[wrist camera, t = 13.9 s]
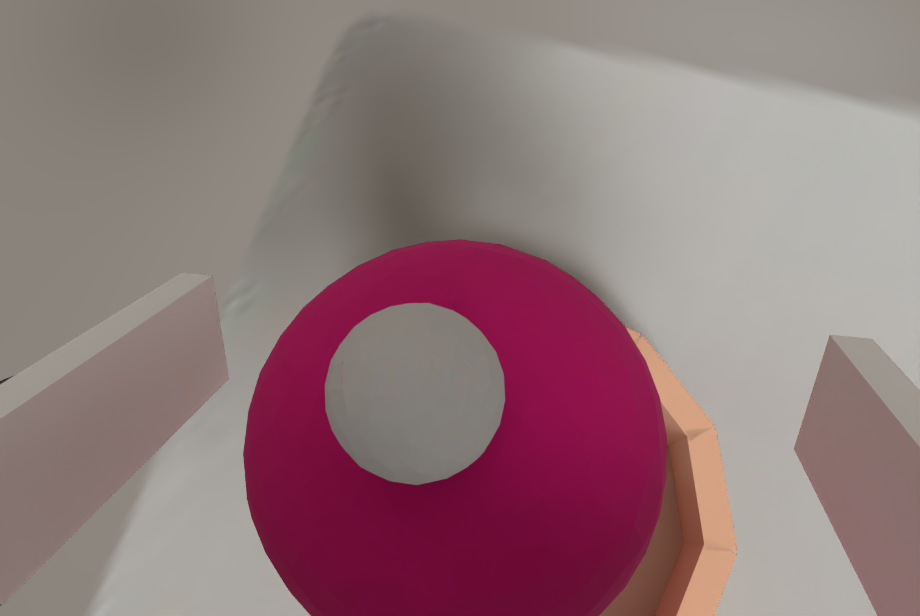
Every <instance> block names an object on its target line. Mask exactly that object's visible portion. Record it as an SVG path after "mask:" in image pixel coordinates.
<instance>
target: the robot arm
mask: <svg viewBox="0 0 920 616" xmlns="http://www.w3.org/2000/svg"><path fill="white" fill-rule="evenodd" d="M228 379H229V377H228V370H227V364H226V358H225V351H224V345H223V339H222V332H221V326H220V320H219V313H218V307H217V301H216V294H215V289H214V282H213V276H212V275H202V274H192V273H180V274H179V275H177V276H176V277H174V278H172V279H170V280H169V281H167V282H166V283H164V284H162V285H161V286H159V287H158V288H156V289H154V290H153V291H151V292H149V293H148V294H146V295H145V296H143V297H141V298H140V299H138V300H136V301H135V302H133V303H132V304H130V305H128V306H127V307H125V308H123V309H122V310H120V311H119V312H117V313H115V314H114V315H112V316H111V317H109V318H107V319H106V320H104V321H102V322H101V323H99V324H98V325H96V326H94V327H93V328H91V329H89V330H88V331H86V332H85V333H83V334H81V335H80V336H78V337H76V338H75V339H73V340H72V341H70V342H68V343H67V344H65V345H64V346H62V347H60V348H59V349H57V350H55V351H54V352H52V353H51V354H49V355H47V356H46V357H44V358H42V359H41V360H39V361H38V362H36V363H35V364H33V365H31V366H29V367H28V368H26V369H25V370H23V371H21V372H20V373H18V374H16V375H14V376H12V377H10V378H7V379H4V380H2V381H0V606H2V605H3V604H4V603H5V602H6V601H7V600H8V599H9V598H10V597H11V596H12V595H13V594H14V593H15V592H16V591H17V590H18V589H19V588H20V587H21V586H22V585H23V584H24V583H25V582H26V581H27V580H28V579H29V578H30V577H31V576H32V575H33V574H34V573H35V572H36V571H37V570H38V569H39V568H40V567H41V566H42V565H43V564H44V563H45V562H46V561H47V560H48V559H49V558H50V557H51V556H52V555H53V554H54V553H55V552H56V551H57V550H58V549H59V548H60V547H61V546H62V545H63V544H64V543H65V542H66V541H67V540H68V539H69V538H70V537H71V536H72V535H73V534H74V533H75V532H76V531H77V530H78V529H79V528H80V527H81V526H82V525H83V524H84V523H85V522H86V521H87V520H88V519H89V518H90V517H91V516H92V515H93V514H94V513H95V512H96V511H97V510H98V509H99V508H100V507H101V506H102V505H103V504H104V503H105V502H106V501H107V500H108V499H109V498H110V497H111V496H112V495H113V494H114V493H115V492H116V491H117V490H118V489H119V488H120V487H121V486H122V485H123V484H124V483H125V482H126V481H127V480H128V479H129V478H130V477H131V476H132V475H133V474H134V473H135V472H136V471H137V470H138V469H139V468H140V467H141V466H142V465H143V464H144V463H145V462H146V461H147V460H148V459H149V458H150V457H151V456H152V455H153V454H154V453H155V452H156V451H157V450H158V449H159V448H160V447H161V446H162V445H163V444H164V443H165V442H166V441H167V440H168V439H169V438H170V437H171V436H172V435H173V434H174V433H175V432H176V431H177V430H178V429H179V428H180V427H181V426H182V425H183V424H184V423H185V422H186V421H187V420H188V419H189V418H190V417H191V416H192V415H193V414H194V413H195V412H196V411H197V410H198V409H199V408H200V407H201V406H202V405H203V404H204V403H205V402H206V401H207V400H208V399H209V398H210V397H211V396H212V395H213V394H214V393H215V392H216V391H217V390H218V389H219V388H220V387H221V386H222V385H223V384H224V383H225V382H226V381H227V380H228ZM794 450H795V452H796V454H797V456H798V458H799V460H800V462H801V464H802V466H803V468H804V470H805V472H806V474H807V476H808V478H809V480H810V482H811V484H812V486H813V488H814V490H815V492H816V494H817V496H818V498H819V500H820V502H821V504H822V506H823V508H824V510H825V512H826V514H827V516H828V518H829V520H830V522H831V524H832V526H833V528H834V530H835V532H836V534H837V536H838V538H839V540H840V542H841V544H842V546H843V548H844V550H845V552H846V554H847V556H848V558H849V560H850V562H851V563H852V565H853V567H854V569H855V571H856V573H857V575H858V577H859V579H860V581H861V583H862V585H863V587H864V589H865V591H866V593H867V595H868V597H869V599H870V601H871V603H872V605H873V607H874V609H875V611H876V613H877V615H878V616H920V390H919V389H918V388H917V387H916V386H915V385H914V383H913V382H912V381H911V380H910V379H909V378H908V377H907V376H906V375H905V374H904V373H903V372H902V370H901V369H900V368H899V367H898V366H897V365H896V364H895V363H894V362H893V361H892V360H891V359H890V358H889V356H888V355H887V354H886V353H885V352H884V351H883V350H882V349H881V348H880V347H879V346H878V345H877V343H876V342H875V341H874V340H873V339H867V338H857V337H847V336H836V335H830V336H829V339H828V342H827V346H826V349H825V352H824V355H823V358H822V361H821V365H820V368H819V371H818V374H817V377H816V380H815V384H814V387H813V390H812V393H811V396H810V400H809V403H808V406H807V409H806V412H805V415H804V419H803V422H802V425H801V428H800V431H799V434H798V438H797V441H796V444H795V447H794Z"/></svg>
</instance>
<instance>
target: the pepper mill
mask: <svg viewBox="0 0 920 616" xmlns="http://www.w3.org/2000/svg"><path fill="white" fill-rule="evenodd" d="M243 456H244V468H245V479H246V491H247V500H248V504H249V509H250V513H251V517H252V520H253V522H254V525H255V527H256V530H257V532H258V535H259V537H260V540H261V542H262V545H263V547H264V550H265V552H266V554H267V556H268V557H269V559H270V561H271V562H272V564H273V565H274V567H275V569H276V570H277V572H278V574H279V575H280V577H281V578H282V580H283V582H284V583H285V585H286V587H287V588H288V589H289V591H290V592H291V594H292V595H293V596H294V597H295V598H296V599H297V600H298V602H299V603H300V604H301V605H302V606H303V607H304V608H305V609H306V611H307V612H308V613H309V614H310V615H311V616H599V615H600V614H601V613H602V612H603V611H604V610H605V609H606V608H607V607H608V606H609V605H610V604H611V602H612V601H613V600H614V599H615V598H616V597H617V596H618V595H619V594H620V593H621V592H622V590H623V589H624V588H625V587H626V585H627V584H628V582H629V580H630V579H631V577H632V575H633V574H634V572H635V570H636V569H637V567H638V565H639V564H640V562H641V560H642V559H643V557H644V555H645V554H646V551H647V549H648V546H649V543H650V541H651V538H652V535H653V533H654V530H655V527H656V525H657V522H658V519H659V517H660V511H661V506H662V500H663V495H664V489H665V484H666V477H667V434H666V428H665V423H664V417H663V412H662V406H661V401H660V396H659V394H658V391H657V388H656V386H655V383H654V381H653V378H652V375H651V373H650V370H649V368H648V365H647V362H646V360H645V358H644V357H643V355H642V354H641V352H640V350H639V349H638V347H637V345H636V344H635V342H634V340H633V339H632V337H631V336H630V334H629V332H628V331H627V329H626V327H625V326H624V325H623V324H622V323H621V322H620V321H619V319H618V318H617V317H616V316H615V315H614V314H613V313H612V312H611V311H610V310H609V309H608V308H607V306H606V305H605V304H604V303H603V302H602V301H601V300H600V299H599V298H598V297H597V296H596V295H594V294H593V293H592V292H591V291H590V290H588V289H587V288H586V287H585V286H583V285H582V284H581V283H580V282H579V281H577V280H576V279H575V278H574V277H572V276H571V275H569V274H567V273H566V272H564V271H562V270H561V269H559V268H558V267H556V266H554V265H553V264H551V263H549V262H548V261H546V260H543V259H540V258H537V257H535V256H532V255H529V254H526V253H523V252H520V251H518V250H515V249H512V248H509V247H506V246H503V245H500V244H492V243H484V242H476V241H468V240H448V241H434V242H425V243H421V244H417V245H412V246H408V247H404V248H400V249H396V250H392V251H390V252H387V253H385V254H383V255H381V256H379V257H376V258H374V259H372V260H370V261H368V262H365V263H363V264H361V265H359V266H357V267H356V268H354V269H353V270H351V271H350V272H348V273H347V274H345V275H344V276H342V277H341V278H339V279H338V280H336V281H335V282H333V283H332V284H330V285H329V286H328V287H326V288H325V289H324V290H323V291H322V292H321V293H320V294H318V295H317V296H316V297H315V298H314V299H313V300H312V301H310V302H309V303H308V304H307V305H306V306H305V307H304V308H303V309H302V310H301V311H300V312H299V314H298V315H297V316H296V317H295V319H294V320H293V321H292V322H291V324H290V325H289V326H288V327H287V329H286V330H285V331H284V332H283V334H282V335H281V336H280V338H279V339H278V341H277V343H276V345H275V347H274V348H273V350H272V352H271V354H270V356H269V357H268V359H267V361H266V363H265V365H264V366H263V368H262V370H261V372H260V374H259V378H258V381H257V384H256V388H255V391H254V394H253V398H252V401H251V404H250V408H249V411H248V420H247V428H246V436H245V444H244V452H243Z"/></svg>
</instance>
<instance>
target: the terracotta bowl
mask: <svg viewBox="0 0 920 616" xmlns="http://www.w3.org/2000/svg"><path fill="white" fill-rule="evenodd" d="M626 329H627V331H628V332H629V334H630V336H631V337H632V339H633V340H634V342H635V344H636V345H637V347H638V349H639V350H640V352H641V354H642V355H643V357H644V358H645V360H646V362H647V365H648V368H649V370H650V373H651V375H652V378H653V381H654V383H655V386H656V388H657V391H658V394H659V396H660V401H661V406H662V412H663V417H664V423H665V428H666V434H667V477H666V484H665V489H664V495H663V500H662V506H661V511H660V517H659V519H658V522H657V525H656V527H655V530H654V533H653V535H652V538H651V541H650V543H649V546H648V549H647V551H646V554H645V555H644V557H643V559H642V560H641V562H640V564H639V565H638V567H637V569H636V570H635V572H634V574H633V575H632V577H631V579H630V580H629V582H628V584H627V585H626V587H625V588H624V589H623V590H622V592H621V593H620V594H619V595H618V596H617V597H616V598H615V599H614V600H613V601H612V602H611V604H610V605H609V606H608V607H607V608H606V609H605V610H604V611H603V612H602V613H601V614H600V615H599V616H714V615H715V612H716V609H717V606H718V604H719V601H720V598H721V596H722V593H723V590H724V588H725V585H726V582H727V580H728V577H729V574H730V572H731V569H732V566H733V563H734V561H735V558H736V555H737V554H736V553H734V552H733V551H731V550H737V545H736V540H735V534H734V528H733V523H732V517H731V511H730V506H729V500H728V494H727V489H726V483H725V477H724V472H723V466H722V461H721V455H720V449H719V444H718V438H717V432H716V428H715V429H710V428H711V427H713V426H714V424H713V423H712V422H711V420H710V419H709V418H708V417H707V415H706V414H705V413H704V412H703V410H702V409H701V408H700V407H699V405H698V404H697V403H696V401H695V400H694V399H693V398H692V396H691V395H690V394H689V393H688V391H687V390H686V389H685V388H684V386H683V385H682V384H681V383H680V381H679V380H678V379H677V378H676V376H675V375H674V374H673V372H672V371H671V370H670V369H669V367H668V366H667V365H666V364H665V362H664V361H663V360H662V359H661V357H660V356H659V355H658V354H657V352H656V351H655V350H654V349H653V347H652V346H651V345H650V343H649V342H648V341H647V340H646V338H645V337H644V336H642V337H641V338H639V337H640V333H638V332H636V331H633V330H631V329H629V328H627V327H626ZM309 616H311V615H310V614H309Z"/></svg>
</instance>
